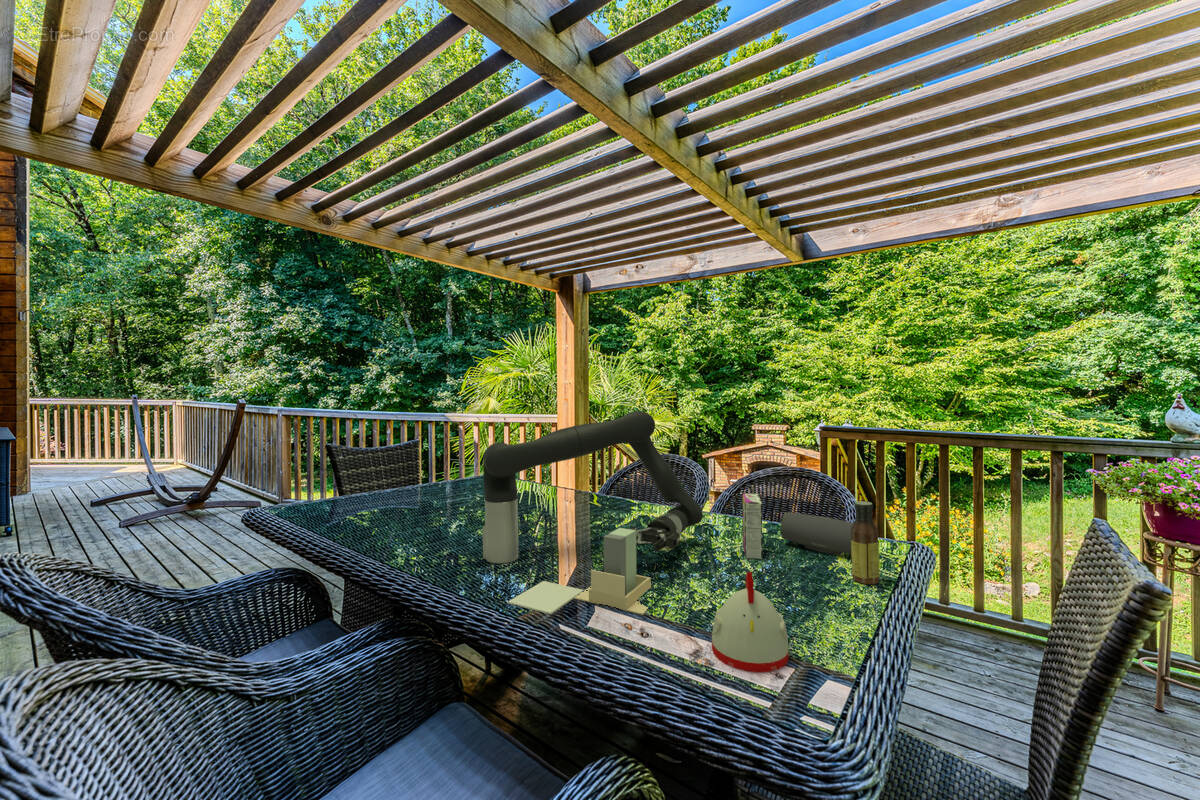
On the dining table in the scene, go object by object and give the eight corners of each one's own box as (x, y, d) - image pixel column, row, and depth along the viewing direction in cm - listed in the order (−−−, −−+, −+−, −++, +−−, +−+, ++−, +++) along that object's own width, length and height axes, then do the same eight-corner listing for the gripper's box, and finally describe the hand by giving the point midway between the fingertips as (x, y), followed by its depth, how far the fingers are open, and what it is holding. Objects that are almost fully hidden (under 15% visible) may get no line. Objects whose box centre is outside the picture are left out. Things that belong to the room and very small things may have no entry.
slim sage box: (604, 600, 123) (603, 536, 122) (620, 588, 130) (619, 527, 129) (621, 604, 121) (620, 539, 120) (636, 591, 127) (636, 530, 127)
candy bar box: (741, 546, 160) (741, 493, 160) (759, 547, 159) (759, 493, 159) (744, 559, 149) (744, 501, 149) (762, 560, 148) (762, 502, 148)
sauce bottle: (877, 577, 134) (878, 500, 134) (881, 587, 129) (882, 506, 128) (849, 574, 137) (849, 499, 136) (852, 583, 131) (852, 504, 130)
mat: (507, 603, 122) (507, 601, 122) (543, 582, 134) (543, 580, 134) (550, 614, 116) (550, 612, 116) (583, 591, 128) (583, 589, 128)
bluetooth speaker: (869, 555, 152) (870, 520, 151) (859, 563, 145) (859, 527, 144) (792, 539, 167) (792, 508, 167) (779, 546, 160) (779, 513, 160)
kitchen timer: (711, 668, 94) (711, 585, 93) (711, 631, 107) (711, 558, 107) (794, 676, 91) (794, 590, 90) (783, 637, 105) (783, 563, 104)
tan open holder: (574, 598, 124) (573, 567, 123) (608, 574, 138) (608, 546, 138) (642, 614, 115) (642, 580, 115) (671, 587, 130) (671, 557, 129)
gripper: (641, 512, 152) (615, 527, 138) (688, 519, 145) (666, 534, 131) (641, 538, 152) (615, 555, 138) (688, 545, 145) (666, 564, 131)
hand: (640, 545), depth 134 cm, fingers open, 8 cm apart
